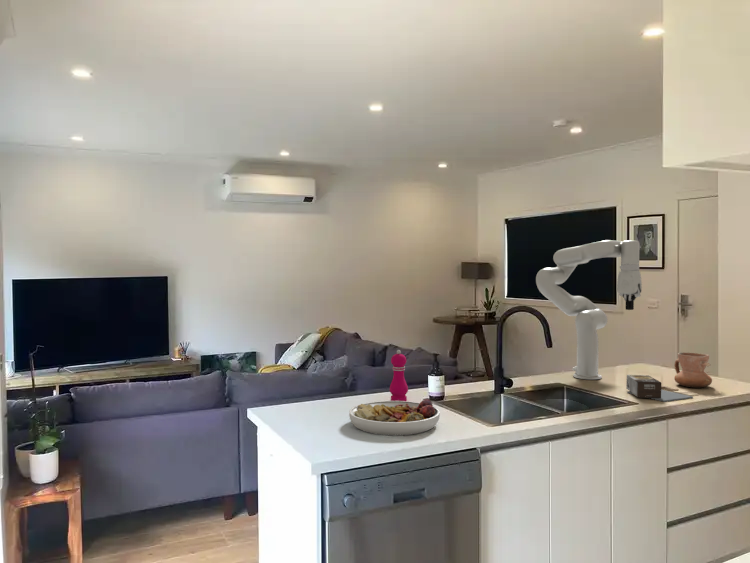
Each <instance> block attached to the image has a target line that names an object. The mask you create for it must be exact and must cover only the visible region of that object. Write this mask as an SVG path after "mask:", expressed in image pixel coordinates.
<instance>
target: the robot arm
mask: <svg viewBox="0 0 750 563" xmlns="http://www.w3.org/2000/svg"><path fill="white" fill-rule="evenodd" d="M602 258H620V266H619V269H620V271H619V272H618V277H617V284H616V292H617V293H618V294H619V296H620V297H623V300H624V301H625V310H626V311H627V310H628V311H630V310H631V311H632V310H634V306H635V303H634V302H635V301H636V299H637V298H639V297H641V293H642V288H643V287H642V285H643V284H642V283H643V282H642V276H641V271H640V241H638V240H633V239H632V240H629V239H628V240H623V241H621V240H614V239H613V240H611V239H605V240H601V241H596V242H595V241H594V242H591V243H585V244H582V245H577V246H572V247H566V248H562V249H558V250H556V252H554V254H553V258H552V260H553V262H554V263H555V265H556V266H555V267H544V268H542V269H540V270H539V271H538V272H537V274H536V276H535V284H536V286H537V289H538V291H539V293H541V294H542V296H544V297H545V298H546V299H548V301H549V302H550V303H552V304H553V305H554V306H555V307H556V308H558V310H560V311H561V312H562V313H564V314H565V315H566V316H569V317H575V319H574V325H575V330H576V365H575V366H574V367H572V368H571V370H572V371H573V372H574V371H575V373H572V375H573V377H574V378H576V379H581V380H589V381H590V380H591V381H592V380H594V381H595V380H601V379H602V377H603V376H602V375H601V374H599V335H598V333H597V330H600V329H603V328H605V327H606V326H607V324H608V316H607V314H606V313H605V311H604V310H603V309H602V308H600V307H598V306H597V304H595V303H594V302H592V301H591V300H590V299H589V298H587V297H585V296H582V295H572V294H570V293H569V292H567V290H565V289H564V288H562V287H561V286H560V285H562V284H563V283H565V282H566V281H567V280H568V279H569V277H570V276H571V275H572V273H573V272H574V271H575V269H576V267H578V265H583V264H587V263H589V262H590V261H591V260H596V259H602Z"/></svg>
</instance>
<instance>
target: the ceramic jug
mask: <svg viewBox="0 0 750 563" xmlns="http://www.w3.org/2000/svg"><path fill="white" fill-rule="evenodd" d="M709 359H710V354H707V353H696V352H695V353H694V352H689V351H688V352H683V351H680V352H678V353H677V358H676V359H675V361H674V369H675V372H676V374H675V375H674V381H675V383H677V384H679V385H680V386H682V387H685V388H686V387H687V388H692V389H699V388H707V387H709V386H710V385H711V384H712V382H713V379H712V377H711V376H710V375H709V374H707V373H706V372H705V369H706V367H708V368H709V367H710V366H711V364H710V363H709ZM679 365H680V366H679ZM680 367H681V369H682V370H680Z"/></svg>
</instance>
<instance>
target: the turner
mask: <svg viewBox="0 0 750 563" xmlns="http://www.w3.org/2000/svg"><path fill="white" fill-rule="evenodd" d="M664 389H665V391H668V390H670V392H674V393H679V394H683V395H688V396H692V397H695V396H694V395H696V396H699V393H696V392H692V391H687V390H682V389H679V388H675V387H672V386H666V385H662V384H661V390H664Z"/></svg>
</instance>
